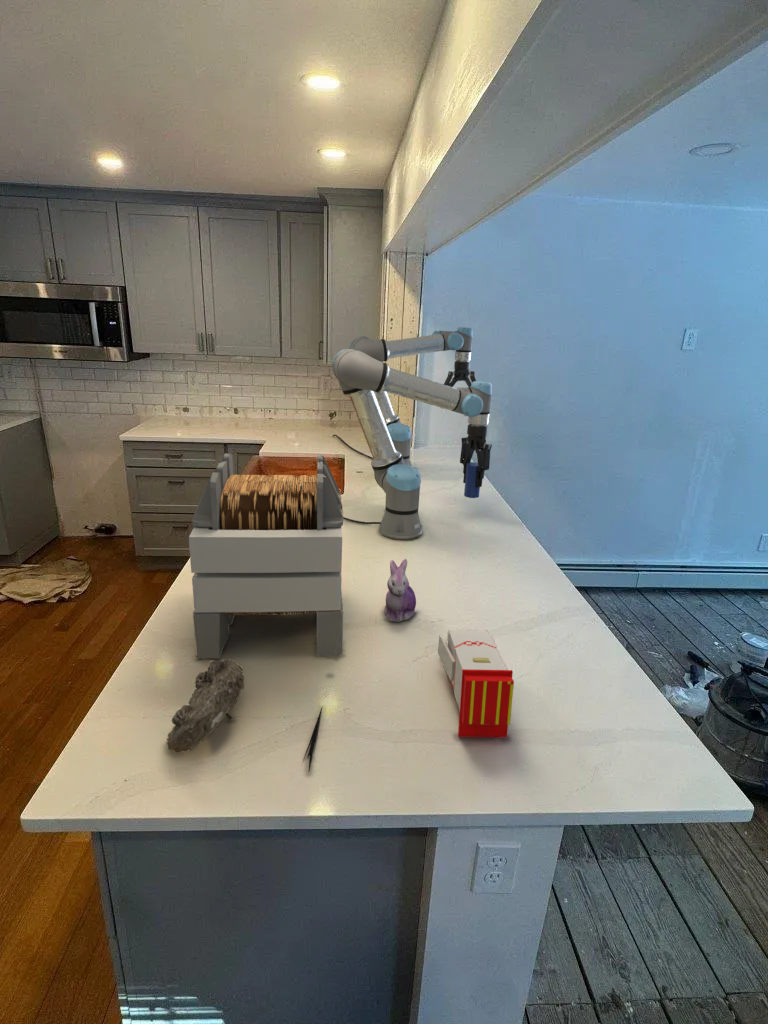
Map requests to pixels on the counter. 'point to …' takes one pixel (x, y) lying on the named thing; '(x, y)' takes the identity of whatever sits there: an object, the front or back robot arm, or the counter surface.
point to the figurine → (399, 594)
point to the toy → (478, 682)
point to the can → (471, 481)
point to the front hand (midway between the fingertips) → (472, 484)
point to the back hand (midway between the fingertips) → (458, 405)
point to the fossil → (206, 705)
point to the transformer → (267, 553)
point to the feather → (313, 740)
